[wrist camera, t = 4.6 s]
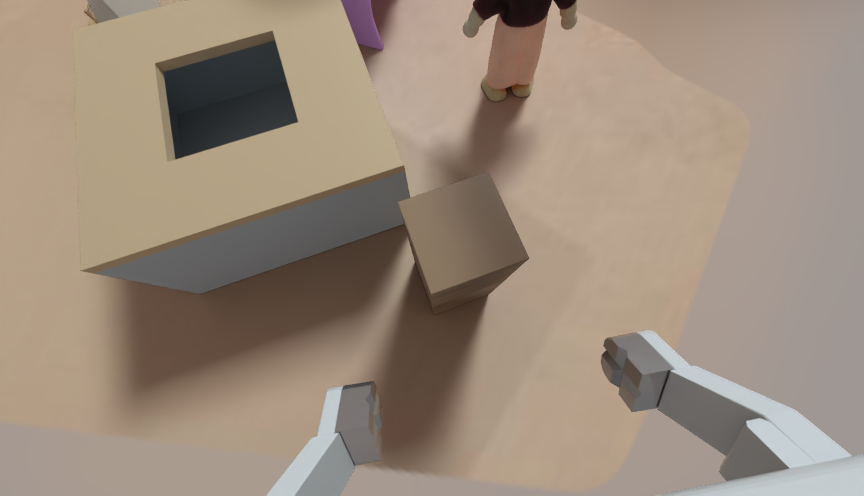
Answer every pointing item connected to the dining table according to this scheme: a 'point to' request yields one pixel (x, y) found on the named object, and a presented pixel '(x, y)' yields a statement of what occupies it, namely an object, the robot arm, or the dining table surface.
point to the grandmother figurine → (515, 40)
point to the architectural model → (117, 9)
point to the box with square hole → (227, 141)
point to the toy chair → (362, 22)
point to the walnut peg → (461, 241)
